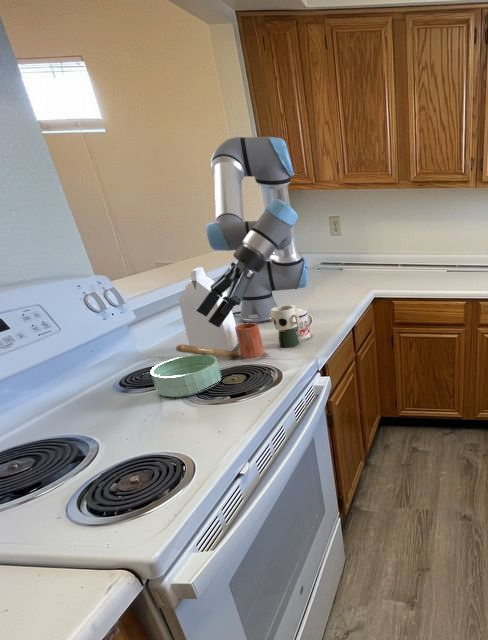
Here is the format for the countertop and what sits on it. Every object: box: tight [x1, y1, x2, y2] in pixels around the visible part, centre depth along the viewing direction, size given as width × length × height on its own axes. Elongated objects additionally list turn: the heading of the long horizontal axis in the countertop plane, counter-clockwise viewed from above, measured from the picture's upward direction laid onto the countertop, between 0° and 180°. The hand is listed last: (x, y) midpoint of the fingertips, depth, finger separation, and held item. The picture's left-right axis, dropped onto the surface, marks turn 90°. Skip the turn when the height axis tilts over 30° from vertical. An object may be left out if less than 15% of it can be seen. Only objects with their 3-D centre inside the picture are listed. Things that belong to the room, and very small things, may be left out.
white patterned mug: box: [290, 304, 314, 341], centre depth 143 cm, size 12×9×12 cm
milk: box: [178, 266, 239, 355], centre depth 130 cm, size 12×12×26 cm
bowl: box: [150, 354, 223, 398], centre depth 109 cm, size 15×15×6 cm
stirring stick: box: [175, 343, 240, 359], centre depth 117 cm, size 2×2×24 cm
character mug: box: [270, 304, 300, 349], centre depth 134 cm, size 11×7×13 cm, turn 68°
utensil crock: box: [235, 322, 265, 359], centre depth 127 cm, size 6×6×10 cm
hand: (207, 319), depth 108 cm, fingers open, 13 cm apart
